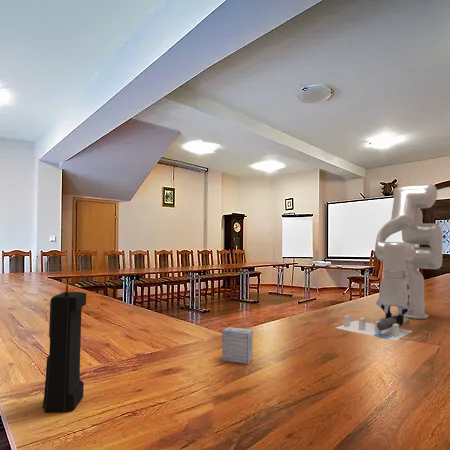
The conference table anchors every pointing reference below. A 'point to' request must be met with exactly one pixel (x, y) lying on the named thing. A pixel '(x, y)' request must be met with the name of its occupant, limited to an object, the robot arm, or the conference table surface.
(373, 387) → the conference table surface
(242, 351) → the medicine box
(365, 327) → the board
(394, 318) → the dark grey rounded peg
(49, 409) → the portable radio
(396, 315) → the computer
